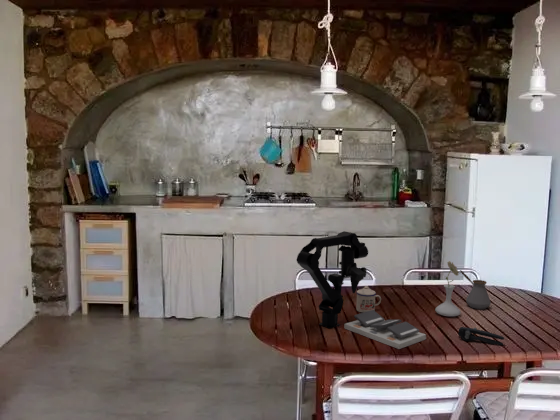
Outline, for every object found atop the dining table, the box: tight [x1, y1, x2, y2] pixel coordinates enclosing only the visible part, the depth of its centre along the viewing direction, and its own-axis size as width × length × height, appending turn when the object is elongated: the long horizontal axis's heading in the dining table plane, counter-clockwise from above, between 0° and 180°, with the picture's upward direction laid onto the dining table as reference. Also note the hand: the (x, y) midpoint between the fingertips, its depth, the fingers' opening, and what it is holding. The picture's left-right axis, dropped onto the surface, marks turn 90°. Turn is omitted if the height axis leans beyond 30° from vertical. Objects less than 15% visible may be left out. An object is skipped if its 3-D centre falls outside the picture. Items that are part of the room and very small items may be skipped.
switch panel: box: [343, 319, 427, 350], centre depth 227 cm, size 18×29×3 cm, turn 40°
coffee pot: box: [458, 269, 492, 310], centre depth 270 cm, size 21×12×15 cm, turn 19°
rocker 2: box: [370, 319, 402, 328], centre depth 227 cm, size 12×7×1 cm, turn 130°
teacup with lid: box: [355, 285, 382, 313], centre depth 257 cm, size 12×9×12 cm
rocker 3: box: [387, 321, 420, 339], centre depth 220 cm, size 12×7×1 cm, turn 130°
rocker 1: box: [353, 310, 386, 327], centre depth 234 cm, size 12×7×1 cm, turn 130°
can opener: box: [457, 326, 505, 346], centre depth 220 cm, size 18×7×6 cm, turn 65°
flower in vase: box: [435, 260, 462, 317], centre depth 253 cm, size 13×11×25 cm
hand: (346, 294), depth 241 cm, fingers open, 9 cm apart
